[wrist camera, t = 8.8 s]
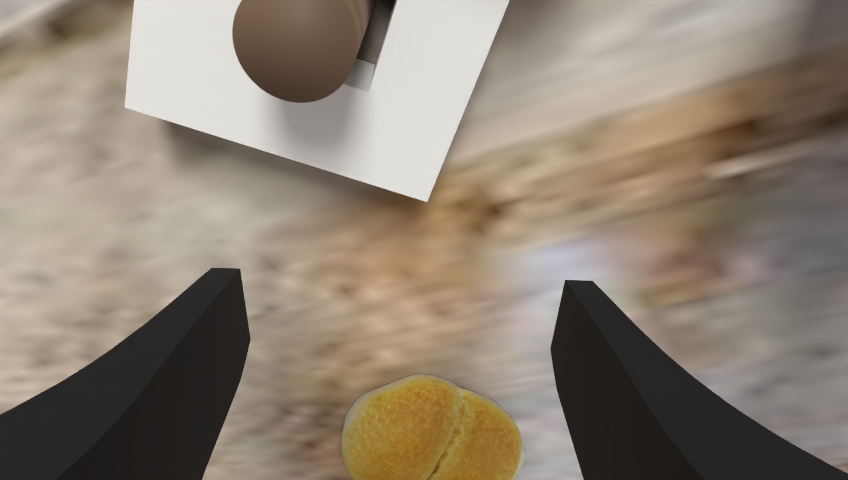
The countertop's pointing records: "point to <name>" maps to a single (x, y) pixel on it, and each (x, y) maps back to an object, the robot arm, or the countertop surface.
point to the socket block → (329, 117)
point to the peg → (299, 44)
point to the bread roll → (429, 434)
